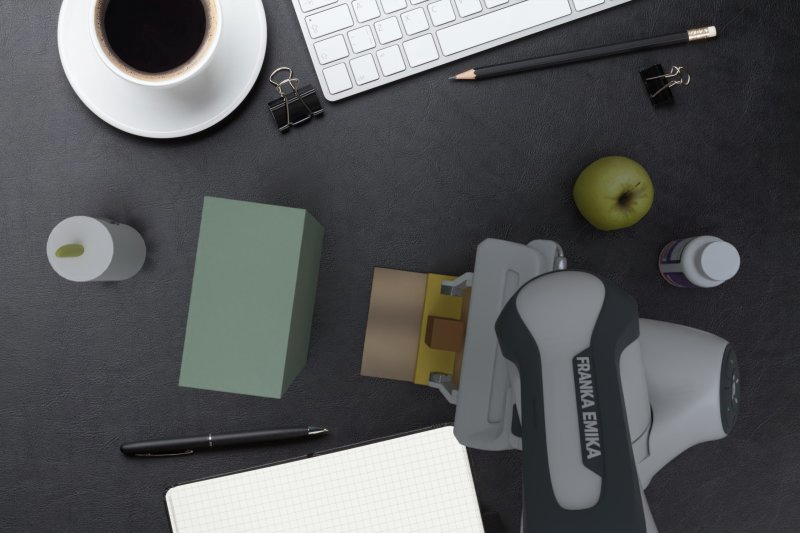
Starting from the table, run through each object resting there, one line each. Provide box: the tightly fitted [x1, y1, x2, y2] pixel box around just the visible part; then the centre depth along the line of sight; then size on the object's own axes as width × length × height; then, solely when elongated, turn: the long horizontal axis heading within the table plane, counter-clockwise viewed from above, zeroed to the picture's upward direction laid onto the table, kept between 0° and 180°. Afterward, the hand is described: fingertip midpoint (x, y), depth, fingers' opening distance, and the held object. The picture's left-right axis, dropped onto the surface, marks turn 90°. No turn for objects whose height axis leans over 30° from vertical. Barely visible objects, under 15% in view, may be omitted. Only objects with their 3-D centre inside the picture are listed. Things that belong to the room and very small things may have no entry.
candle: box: [46, 215, 147, 283], centre depth 75 cm, size 6×6×15 cm
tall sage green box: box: [178, 195, 326, 400], centre depth 71 cm, size 15×8×24 cm, turn 172°
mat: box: [359, 266, 472, 389], centre depth 84 cm, size 12×20×1 cm, turn 82°
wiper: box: [413, 272, 464, 386], centre depth 79 cm, size 12×4×10 cm, turn 172°
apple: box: [572, 155, 655, 231], centre depth 80 cm, size 8×8×10 cm
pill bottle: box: [658, 235, 741, 288], centre depth 80 cm, size 5×5×10 cm
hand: (438, 332), depth 78 cm, fingers open, 8 cm apart
